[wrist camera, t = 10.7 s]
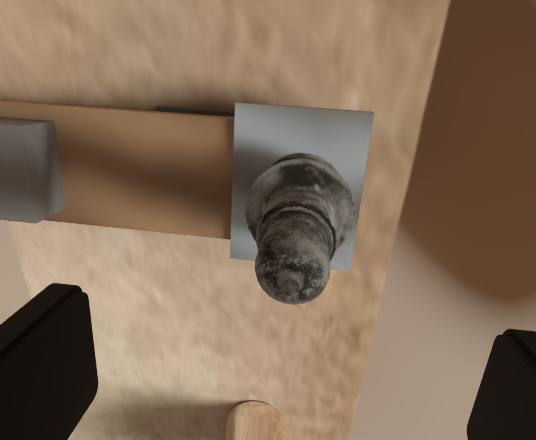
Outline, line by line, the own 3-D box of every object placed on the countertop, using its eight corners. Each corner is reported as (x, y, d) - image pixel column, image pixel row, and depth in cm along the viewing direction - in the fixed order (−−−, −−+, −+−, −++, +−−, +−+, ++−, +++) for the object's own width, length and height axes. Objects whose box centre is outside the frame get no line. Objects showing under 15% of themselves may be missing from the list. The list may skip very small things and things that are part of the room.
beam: (5, 84, 26) (-50, 84, 22) (369, 110, 24) (380, 115, 20) (27, 224, 29) (-18, 245, 25) (347, 258, 27) (353, 287, 23)
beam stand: (62, 98, 30) (21, 101, 26) (343, 118, 29) (349, 125, 25) (73, 195, 33) (38, 213, 29) (330, 218, 32) (334, 240, 27)
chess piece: (288, 255, 25) (265, 391, 14) (236, 181, 24) (166, 266, 13) (368, 209, 24) (414, 322, 12) (316, 128, 22) (317, 171, 11)
